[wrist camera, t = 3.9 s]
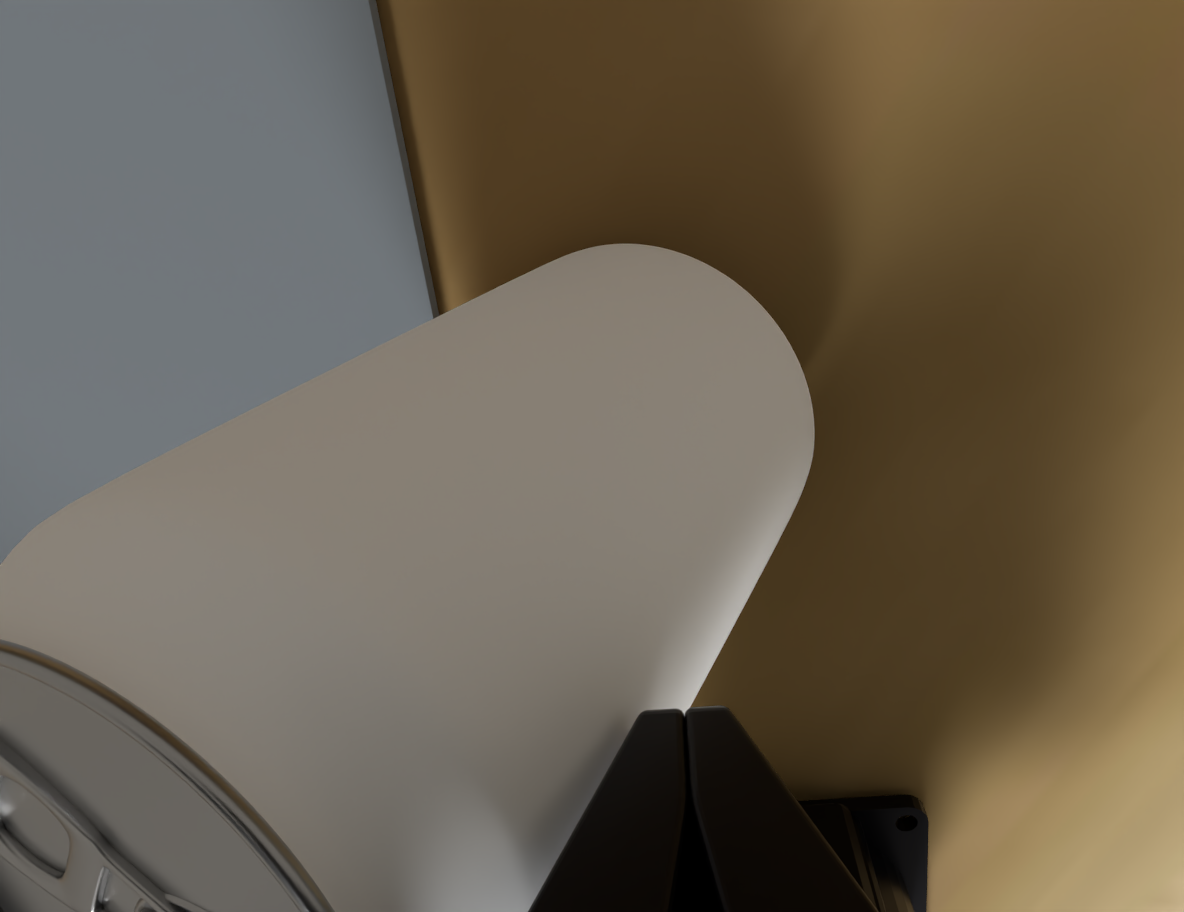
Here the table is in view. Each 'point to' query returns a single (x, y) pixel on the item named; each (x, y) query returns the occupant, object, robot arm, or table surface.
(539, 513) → the can
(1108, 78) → the table surface
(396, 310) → the mat
